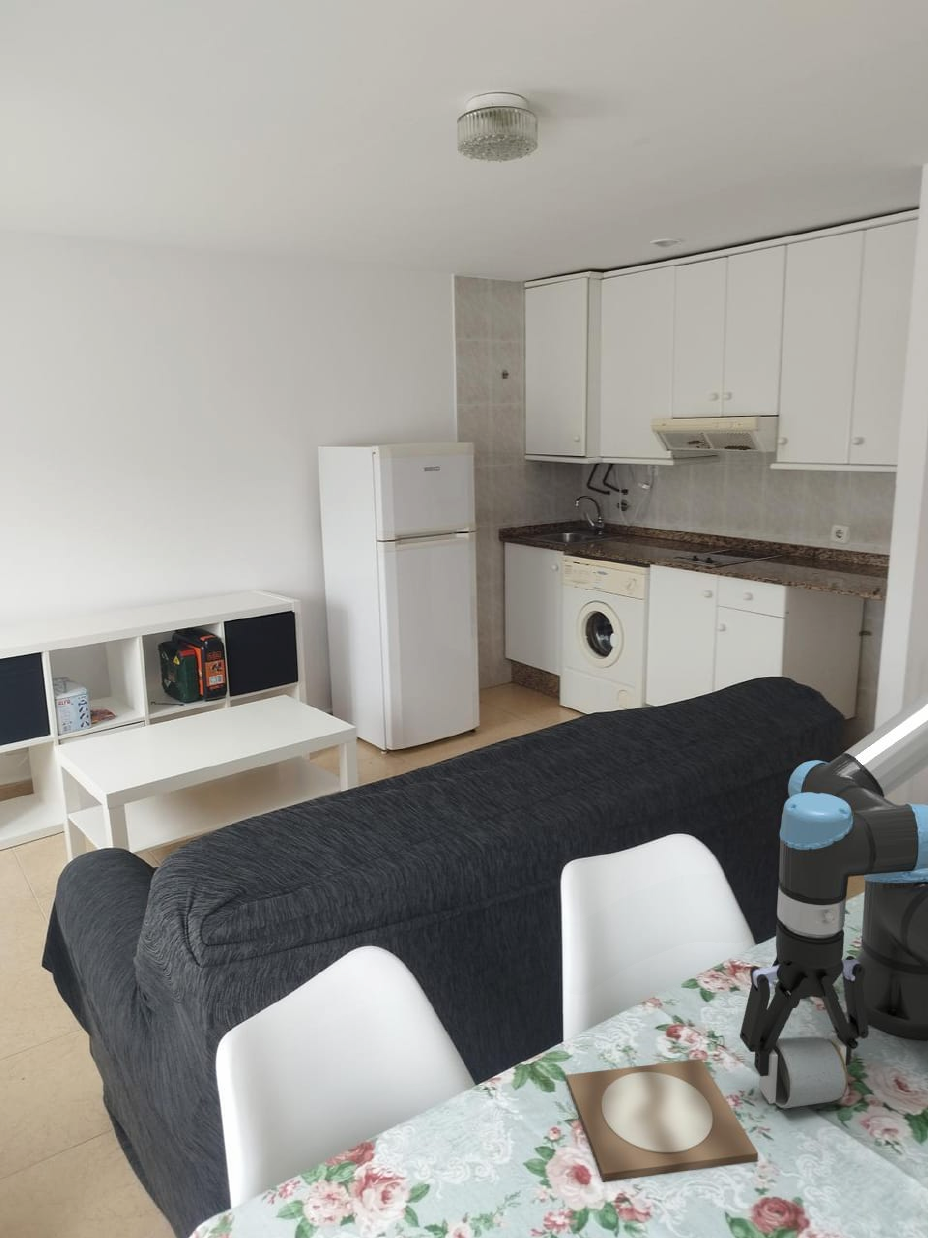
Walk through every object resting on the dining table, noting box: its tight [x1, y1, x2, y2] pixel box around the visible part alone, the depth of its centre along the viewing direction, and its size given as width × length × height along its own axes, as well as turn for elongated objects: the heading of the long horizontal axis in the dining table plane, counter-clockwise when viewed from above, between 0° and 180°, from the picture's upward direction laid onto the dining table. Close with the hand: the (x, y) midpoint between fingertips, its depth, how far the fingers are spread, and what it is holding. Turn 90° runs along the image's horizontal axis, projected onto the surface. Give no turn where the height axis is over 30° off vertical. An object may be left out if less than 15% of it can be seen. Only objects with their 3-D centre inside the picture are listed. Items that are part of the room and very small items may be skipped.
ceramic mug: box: [773, 1035, 849, 1109], centre depth 111 cm, size 11×8×8 cm
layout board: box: [565, 1058, 759, 1182], centre depth 107 cm, size 18×16×1 cm
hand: (801, 1091), depth 111 cm, fingers closed on ceramic mug, 8 cm apart
